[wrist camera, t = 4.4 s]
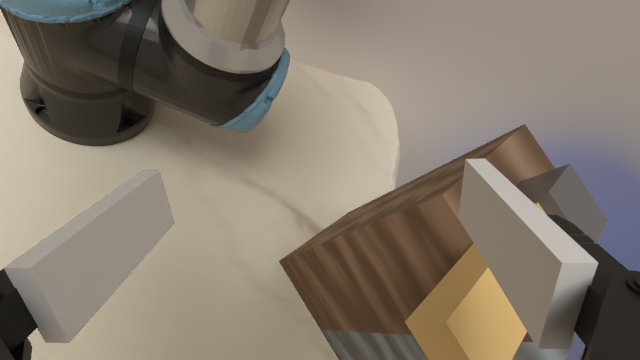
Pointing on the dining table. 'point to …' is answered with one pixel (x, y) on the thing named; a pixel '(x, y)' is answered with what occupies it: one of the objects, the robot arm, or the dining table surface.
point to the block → (495, 283)
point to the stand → (401, 257)
